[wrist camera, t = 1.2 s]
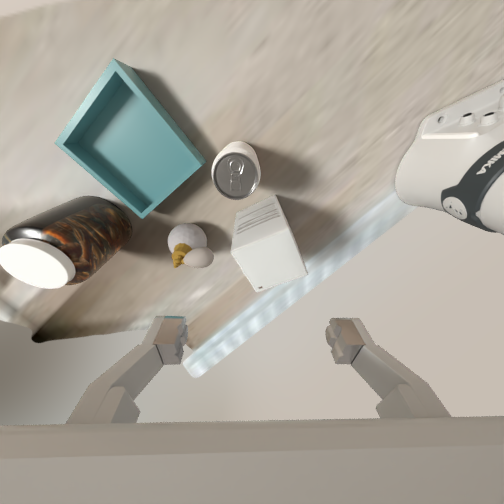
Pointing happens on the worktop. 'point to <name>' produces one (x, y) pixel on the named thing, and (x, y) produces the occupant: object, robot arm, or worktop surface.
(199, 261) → the perfume bottle
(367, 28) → the worktop surface
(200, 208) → the worktop surface
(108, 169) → the bin
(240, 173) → the can
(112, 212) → the jar
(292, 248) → the supplement box
